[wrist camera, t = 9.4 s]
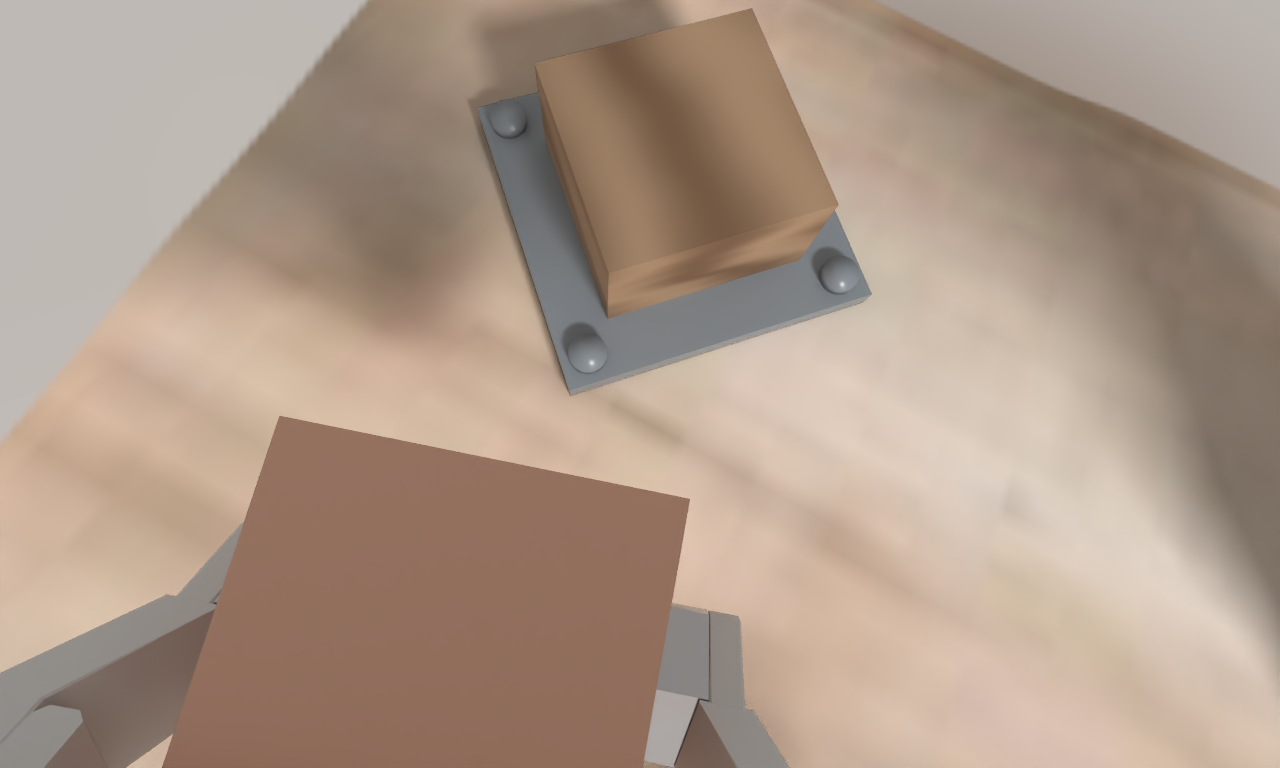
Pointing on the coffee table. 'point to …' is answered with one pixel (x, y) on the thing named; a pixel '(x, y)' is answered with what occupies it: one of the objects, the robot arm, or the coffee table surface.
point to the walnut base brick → (681, 160)
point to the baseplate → (663, 329)
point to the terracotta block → (432, 614)
